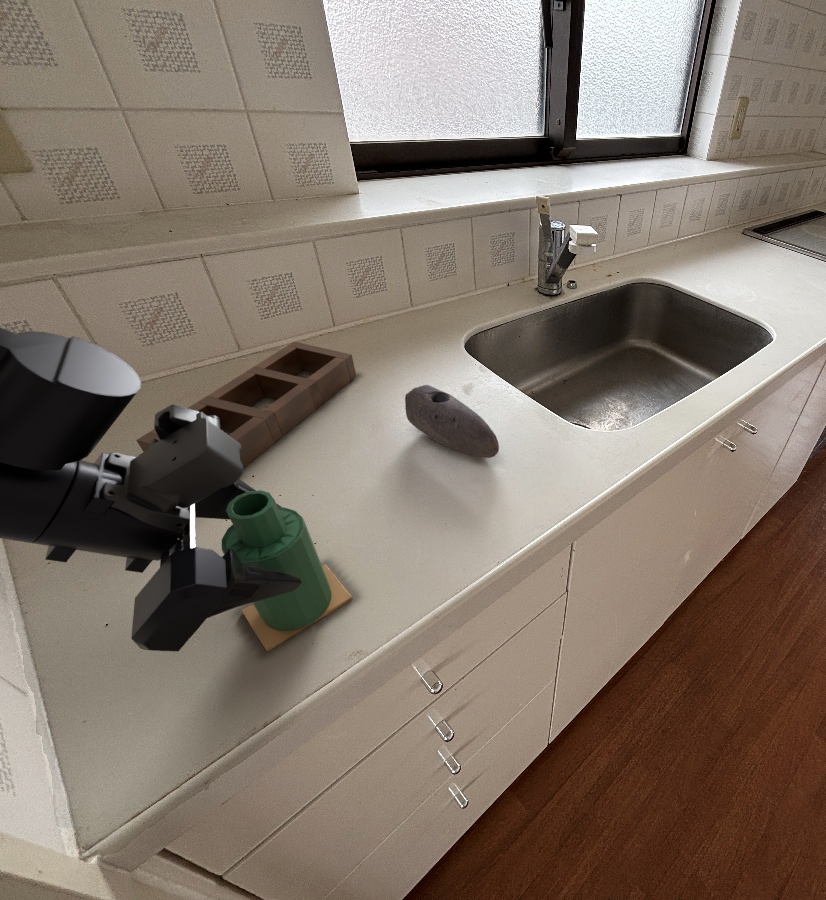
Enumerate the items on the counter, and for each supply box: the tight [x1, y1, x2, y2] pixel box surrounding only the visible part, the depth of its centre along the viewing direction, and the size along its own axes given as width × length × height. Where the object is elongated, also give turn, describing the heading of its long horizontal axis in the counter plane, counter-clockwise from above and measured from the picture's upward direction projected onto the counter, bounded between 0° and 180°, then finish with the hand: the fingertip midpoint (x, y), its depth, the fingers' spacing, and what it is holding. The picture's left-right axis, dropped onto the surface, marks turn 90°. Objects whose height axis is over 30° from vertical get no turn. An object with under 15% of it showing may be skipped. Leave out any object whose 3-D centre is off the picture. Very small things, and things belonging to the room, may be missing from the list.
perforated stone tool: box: [404, 384, 500, 459], centre depth 68 cm, size 15×5×7 cm, turn 58°
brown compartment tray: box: [136, 341, 357, 469], centre depth 69 cm, size 27×10×4 cm, turn 167°
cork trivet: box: [241, 563, 353, 652], centre depth 49 cm, size 8×6×1 cm
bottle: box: [221, 489, 332, 631], centre depth 44 cm, size 6×6×14 cm
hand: (292, 548), depth 44 cm, fingers open, 8 cm apart
